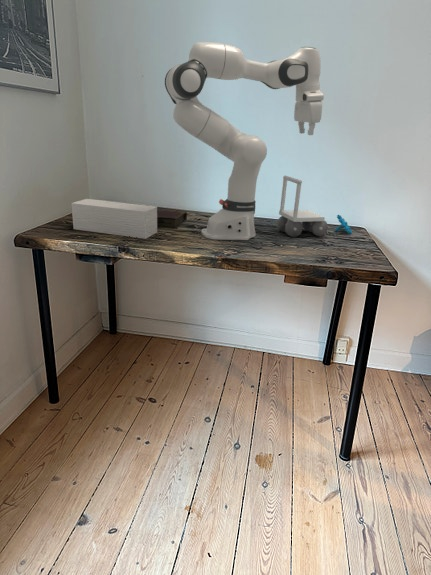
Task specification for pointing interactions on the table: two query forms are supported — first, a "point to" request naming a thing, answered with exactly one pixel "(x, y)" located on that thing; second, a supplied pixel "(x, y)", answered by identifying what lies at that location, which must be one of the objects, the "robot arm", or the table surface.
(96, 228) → the long white foam block
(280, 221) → the trolley
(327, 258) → the table surface
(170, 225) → the diary
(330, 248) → the table surface
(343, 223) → the blue bumpy piece
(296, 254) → the table surface
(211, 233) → the robot arm
